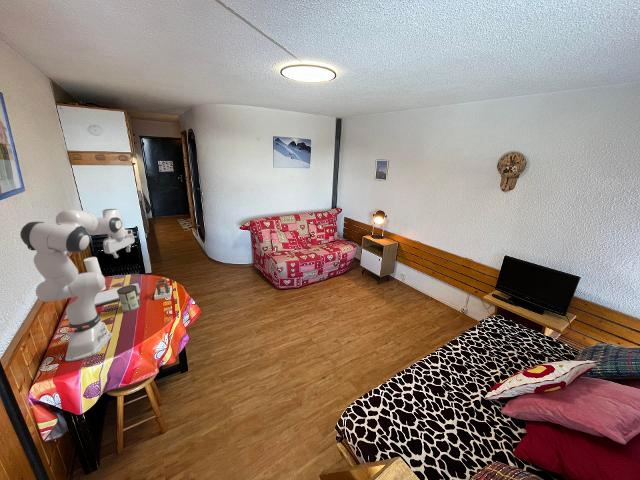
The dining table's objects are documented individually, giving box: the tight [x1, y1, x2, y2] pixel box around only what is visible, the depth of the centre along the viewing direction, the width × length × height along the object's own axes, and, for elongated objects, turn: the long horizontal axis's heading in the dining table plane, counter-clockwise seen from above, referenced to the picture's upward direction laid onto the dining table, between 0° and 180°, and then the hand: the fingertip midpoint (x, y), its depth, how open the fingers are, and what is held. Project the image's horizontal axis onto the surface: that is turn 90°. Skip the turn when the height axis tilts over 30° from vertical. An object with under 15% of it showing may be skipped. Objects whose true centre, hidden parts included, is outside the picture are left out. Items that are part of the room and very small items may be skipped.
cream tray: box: [153, 285, 173, 301], centre depth 186 cm, size 12×10×3 cm
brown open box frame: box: [155, 278, 169, 295], centre depth 185 cm, size 6×6×10 cm
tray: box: [94, 283, 141, 307], centre depth 182 cm, size 17×31×4 cm, turn 127°
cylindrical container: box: [83, 256, 107, 293], centre depth 189 cm, size 7×7×25 cm
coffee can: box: [117, 284, 142, 313], centre depth 169 cm, size 10×10×14 cm
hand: (122, 254), depth 165 cm, fingers open, 8 cm apart
